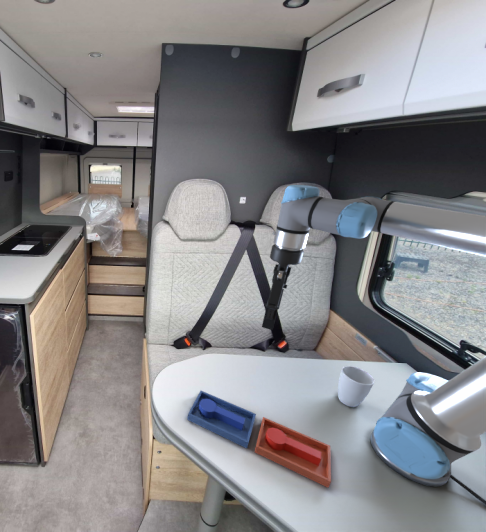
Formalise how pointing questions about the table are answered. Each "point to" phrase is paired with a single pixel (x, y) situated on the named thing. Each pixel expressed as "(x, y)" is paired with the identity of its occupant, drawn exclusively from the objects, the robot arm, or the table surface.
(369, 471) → the table surface
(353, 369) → the cup
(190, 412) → the blue tray
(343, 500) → the table surface
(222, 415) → the blue spoon
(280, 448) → the red spoon
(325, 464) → the red tray
